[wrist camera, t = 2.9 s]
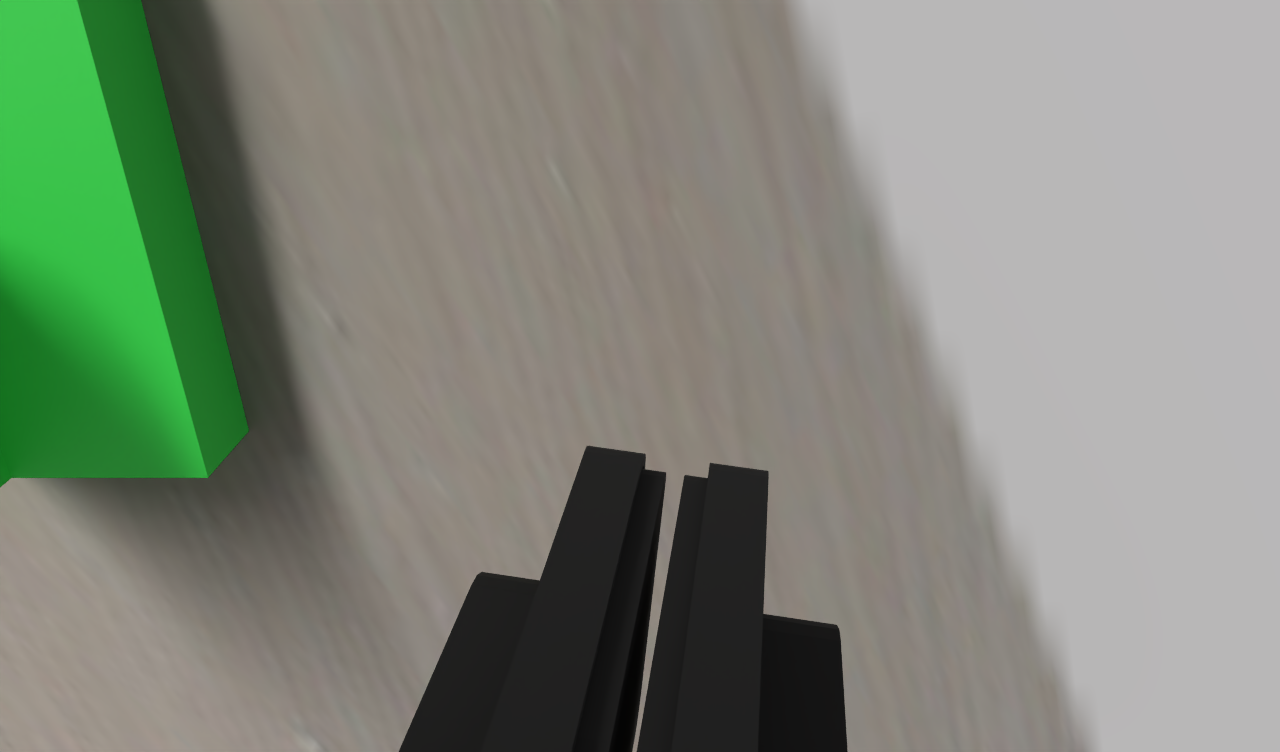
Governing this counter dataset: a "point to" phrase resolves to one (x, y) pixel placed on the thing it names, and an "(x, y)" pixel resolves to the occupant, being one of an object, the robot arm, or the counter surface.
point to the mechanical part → (101, 260)
